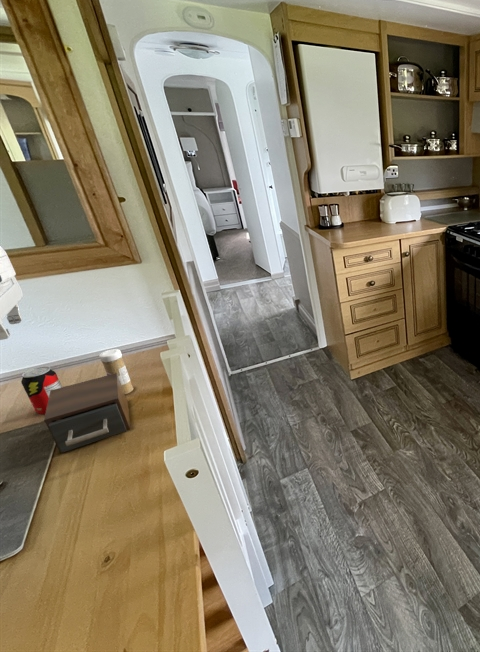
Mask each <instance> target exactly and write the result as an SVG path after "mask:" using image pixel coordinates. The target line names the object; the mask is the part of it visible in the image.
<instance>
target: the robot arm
mask: <svg viewBox="0 0 480 652" xmlns="http://www.w3.org/2000/svg"><path fill="white" fill-rule="evenodd" d="M16 275H17V273H16V270H15V268H14V266H13V264H12V262H11V260H10V257H9V255H8V253H7V252H6V250H5V249H4V248H3V247H2V246H1V245H0V341H2V340H8V338H9V337H10V335H11V334H10V333H11V332H10V331H9V328H6V327H5V326H4V325H3V324H4V322H3V320H4V318H6V320H7V321H8V324H10V325H17V324H21V322H22V321H23V318H22V316H21V313H20V312H21V311H20V306H19V302H20V301H21V300H22V299H23V297H24V292H23V289H22V287H21V285H20V283H19V282H18V279H17V278H16ZM6 316H7V317H6Z"/></svg>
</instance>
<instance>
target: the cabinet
mask: <svg viewBox="0 0 480 652" xmlns="http://www.w3.org/2000/svg"><path fill="white" fill-rule="evenodd" d="M114 402H115V403H116V404H117V406H118V409H119V411H120V414H121V416H122V419H123V422H124V424H125V427H126V431H125V432H127V431H130V430H131V420H130V410H129V401H128V398H127V396H126V394H125V393H124V391H123V388H122V385H121V383H120V380H119V377H118V375H117V373H115V374H111V375H107V374H106V375H104V376H101V377H97V378H92V379H89V380H85V381H80V382H76V383H73V384H70V385H66V386H62V388H58V389H54V390H51V391H50V395H49V400H48V405H47V409H46V414H44V419H43V421H44V422H45V425H46V427H47V429H48V431H49V433H50V435H51V437H52V439H53V441H54V443H55V444H56V447H57V449H58V451H59V453H60V454H61V453H62V452H61V450H60V448H59V446H58V444H57V442H56V440H55V438H54V436H53V434H52V432H51V430H50V428H49V423H52V422H55V421H56V420H57V419H60V418H64V417H67V416H70V415H74V414H77V413H81V412H84V411H87V410H91V409H94V408H97V407H101V406H104V405H107V404H111V403H114Z"/></svg>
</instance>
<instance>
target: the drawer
mask: <svg viewBox="0 0 480 652" xmlns="http://www.w3.org/2000/svg"><path fill="white" fill-rule="evenodd" d="M49 428H50V430H51V432H52V434H53V436H54V438H55V440H56V442H57V444H58V446H59V448H60V450H61V452H62V453H65V452H69V451H71V450H75V449H77V448H81V447H83V446H86V445H89V444H93V443H95V442H98V441H101V440H103V439H104V440H105V439H107V438H110V437H112V436H116V435H118V434H119V435H120V434H121V433H125V432H127V431H126V427H125V424H124V422H123V419H122V416H121V414H120V411H119V409H118V406H117V404H116V403H115V402H114V403H111V404H107V405H104V406H101V407H97V408H94V409H91V410H87V411H84V412H81V413H77V414H74V415H70V416H67V417H64V418H60V419H57V420H56V421H55V422H52V423H49Z"/></svg>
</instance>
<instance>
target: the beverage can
mask: <svg viewBox="0 0 480 652" xmlns="http://www.w3.org/2000/svg"><path fill="white" fill-rule="evenodd" d="M21 377H22V379H21V381H20V382H21V386H22V387H23V389H24V391H25V394H26V395H27V397H28V399H29V401H30V403H31V406H32V408H33V410H34V412H35V413H36V414H40V415H45V414H46V409H47V405H48V400H49V395H50V391H51V390H54V389H58V388H62V387H63V386H62V384H61V381H60V380H59V377H58V375H57V372H56V371H54V370H53V369H51V367H50V366H39V367H35V368H31V369H29V370H26V371H25V372H23V373H22V374H21Z"/></svg>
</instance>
